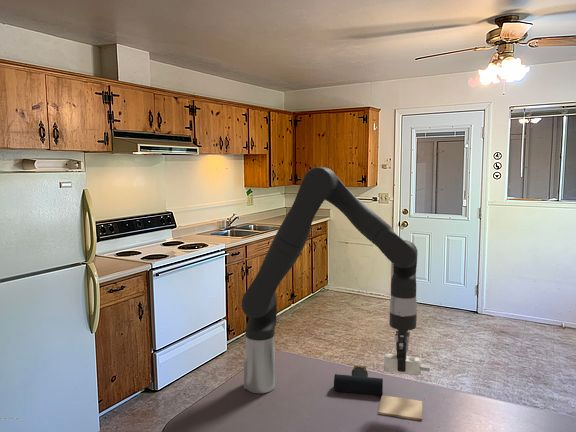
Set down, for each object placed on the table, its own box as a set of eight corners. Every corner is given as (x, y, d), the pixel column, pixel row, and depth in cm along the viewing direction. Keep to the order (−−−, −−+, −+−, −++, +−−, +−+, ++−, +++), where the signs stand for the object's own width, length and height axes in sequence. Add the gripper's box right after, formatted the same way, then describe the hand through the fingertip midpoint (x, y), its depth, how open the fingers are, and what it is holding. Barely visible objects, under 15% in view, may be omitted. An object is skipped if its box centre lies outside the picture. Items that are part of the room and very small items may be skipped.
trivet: (378, 413, 129) (378, 411, 128) (381, 397, 138) (381, 395, 138) (421, 420, 125) (421, 418, 125) (422, 402, 134) (422, 401, 134)
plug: (382, 371, 130) (383, 357, 130) (384, 366, 134) (384, 353, 133) (429, 377, 126) (429, 364, 126) (429, 372, 130) (429, 359, 129)
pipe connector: (337, 361, 151) (383, 365, 148) (337, 376, 152) (382, 381, 149) (333, 378, 140) (382, 382, 137) (333, 394, 141) (382, 399, 138)
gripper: (391, 302, 136) (390, 357, 138) (387, 317, 123) (386, 377, 125) (417, 304, 134) (415, 359, 136) (416, 319, 121) (414, 381, 122)
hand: (401, 367), depth 130 cm, fingers closed on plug, 3 cm apart
